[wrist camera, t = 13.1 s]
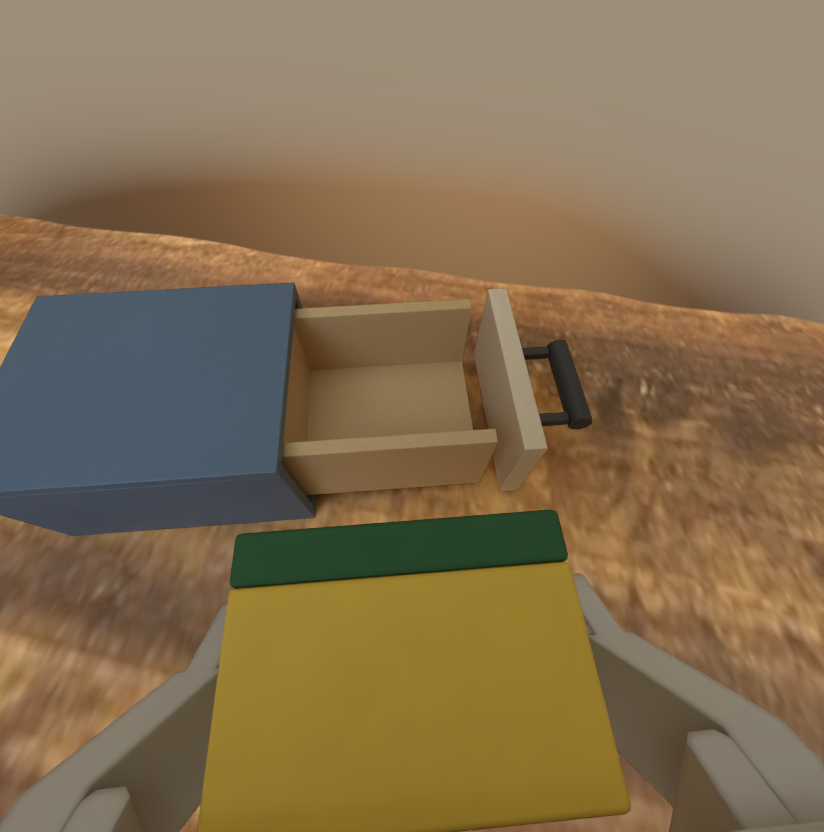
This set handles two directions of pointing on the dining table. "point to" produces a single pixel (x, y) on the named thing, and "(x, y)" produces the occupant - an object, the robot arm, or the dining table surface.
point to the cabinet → (150, 410)
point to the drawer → (416, 397)
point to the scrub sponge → (407, 682)
